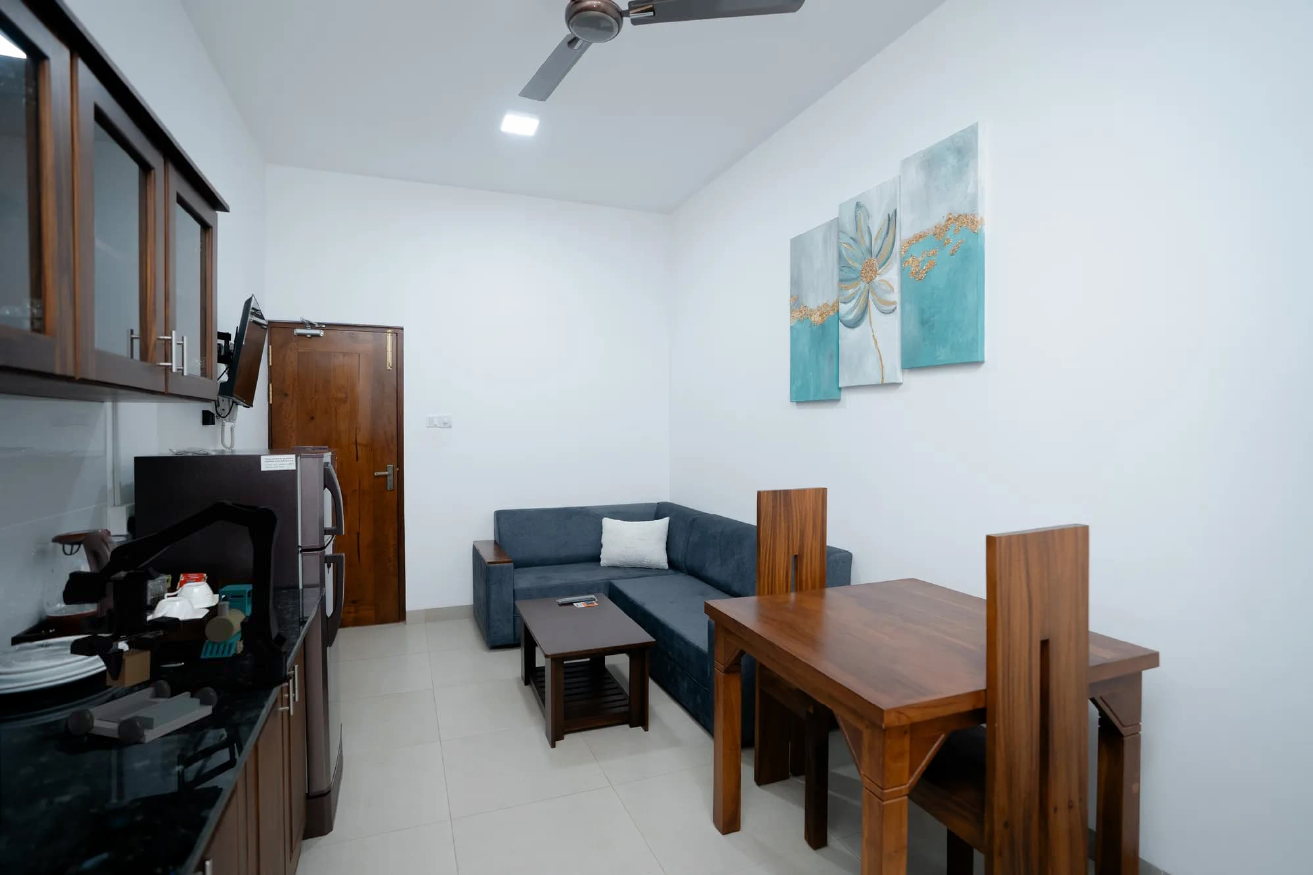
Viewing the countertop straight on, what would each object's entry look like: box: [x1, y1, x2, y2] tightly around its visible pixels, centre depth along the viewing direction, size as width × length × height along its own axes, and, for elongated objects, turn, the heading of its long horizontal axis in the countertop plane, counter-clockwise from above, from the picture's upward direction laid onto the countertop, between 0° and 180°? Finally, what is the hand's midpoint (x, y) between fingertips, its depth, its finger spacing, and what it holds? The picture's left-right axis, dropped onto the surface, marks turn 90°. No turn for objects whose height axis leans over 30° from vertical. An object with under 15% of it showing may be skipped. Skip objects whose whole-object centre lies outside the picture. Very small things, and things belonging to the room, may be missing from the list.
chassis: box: [67, 679, 218, 746], centre depth 123 cm, size 16×17×4 cm
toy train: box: [200, 584, 252, 659], centre depth 164 cm, size 8×17×15 cm, turn 15°
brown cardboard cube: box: [106, 648, 151, 689], centre depth 134 cm, size 5×5×6 cm
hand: (128, 675), depth 134 cm, fingers closed on brown cardboard cube, 5 cm apart
